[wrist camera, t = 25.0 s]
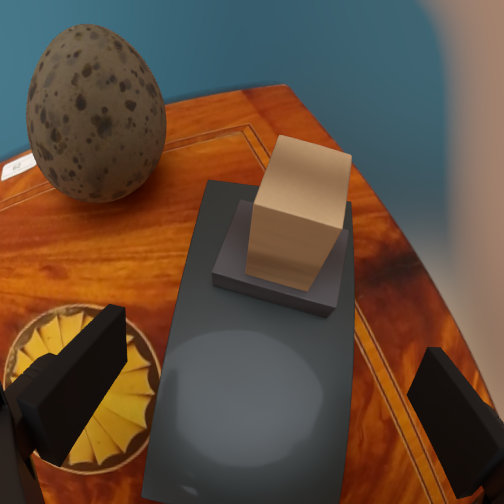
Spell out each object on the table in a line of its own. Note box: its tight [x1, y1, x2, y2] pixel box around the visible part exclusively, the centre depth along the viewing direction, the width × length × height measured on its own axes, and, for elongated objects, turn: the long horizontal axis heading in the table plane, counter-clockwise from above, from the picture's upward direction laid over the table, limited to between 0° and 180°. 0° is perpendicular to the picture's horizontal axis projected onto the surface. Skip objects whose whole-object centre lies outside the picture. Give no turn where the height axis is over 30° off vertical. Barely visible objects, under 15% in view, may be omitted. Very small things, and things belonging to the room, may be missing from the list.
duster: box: [212, 135, 352, 318], centre depth 19 cm, size 6×8×9 cm
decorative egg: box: [26, 24, 166, 203], centre depth 20 cm, size 11×11×15 cm
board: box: [141, 180, 355, 504], centre depth 21 cm, size 24×12×1 cm, turn 173°
